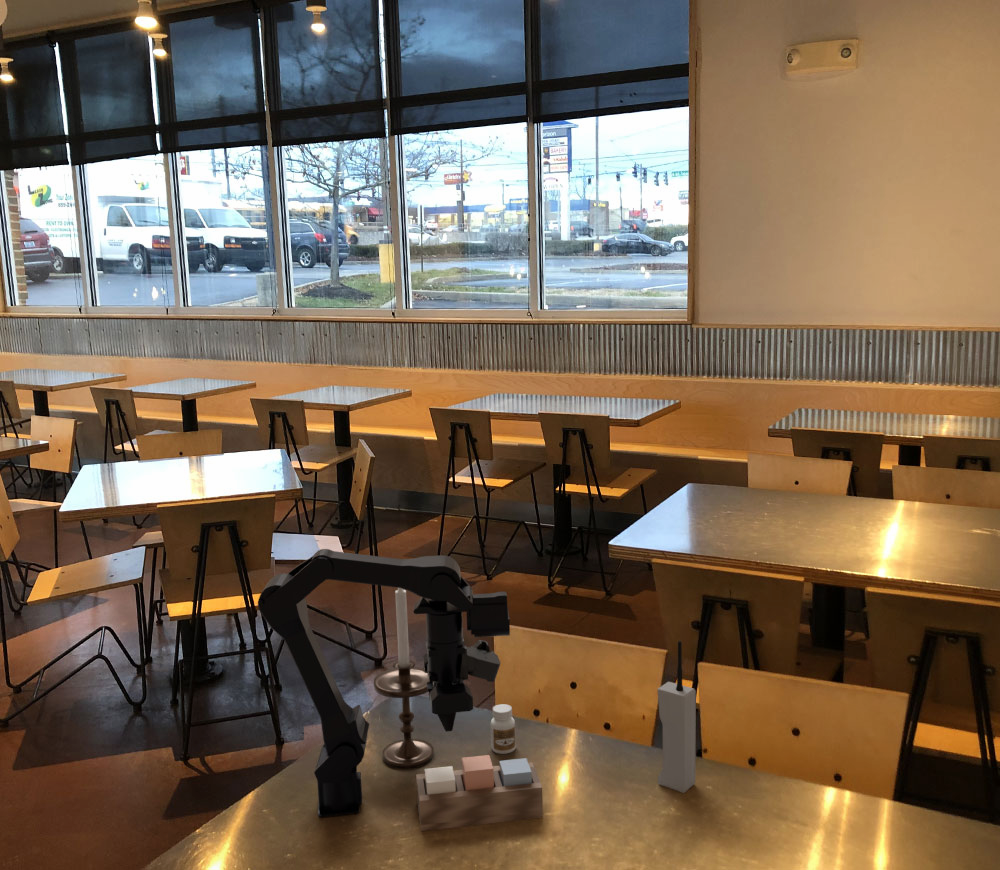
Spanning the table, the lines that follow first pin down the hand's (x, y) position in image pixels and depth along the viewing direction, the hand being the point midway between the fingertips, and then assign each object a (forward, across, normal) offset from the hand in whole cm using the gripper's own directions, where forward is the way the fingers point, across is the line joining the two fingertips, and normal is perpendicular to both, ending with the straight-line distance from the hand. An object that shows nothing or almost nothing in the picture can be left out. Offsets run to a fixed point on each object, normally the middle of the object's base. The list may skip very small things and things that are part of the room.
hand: (448, 730), depth 150 cm
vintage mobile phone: (+12, -3, -37) cm, 39 cm away
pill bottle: (+12, +15, -11) cm, 22 cm away
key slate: (+9, -4, -10) cm, 14 cm away
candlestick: (+12, +16, +6) cm, 21 cm away
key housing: (+12, -4, -4) cm, 13 cm away
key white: (+9, -4, +2) cm, 10 cm away
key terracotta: (+8, -4, -4) cm, 10 cm away
